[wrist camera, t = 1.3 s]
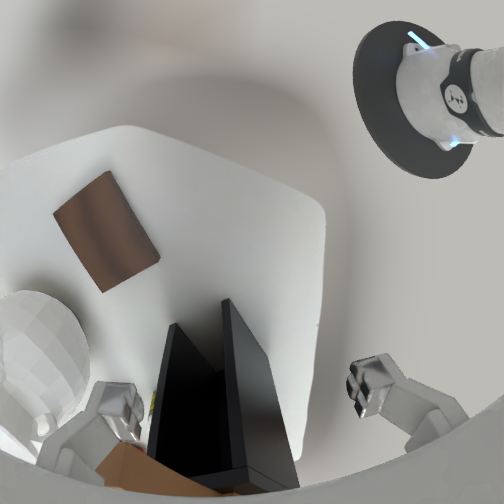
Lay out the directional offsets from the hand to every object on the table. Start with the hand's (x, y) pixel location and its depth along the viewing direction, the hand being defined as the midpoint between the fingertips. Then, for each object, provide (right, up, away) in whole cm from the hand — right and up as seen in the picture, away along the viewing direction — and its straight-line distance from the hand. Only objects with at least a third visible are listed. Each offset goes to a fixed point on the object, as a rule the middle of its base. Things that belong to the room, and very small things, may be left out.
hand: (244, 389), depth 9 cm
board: (-19, +7, +23) cm, 31 cm away
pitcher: (-32, -6, +27) cm, 42 cm away
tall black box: (-5, -9, +31) cm, 33 cm away
